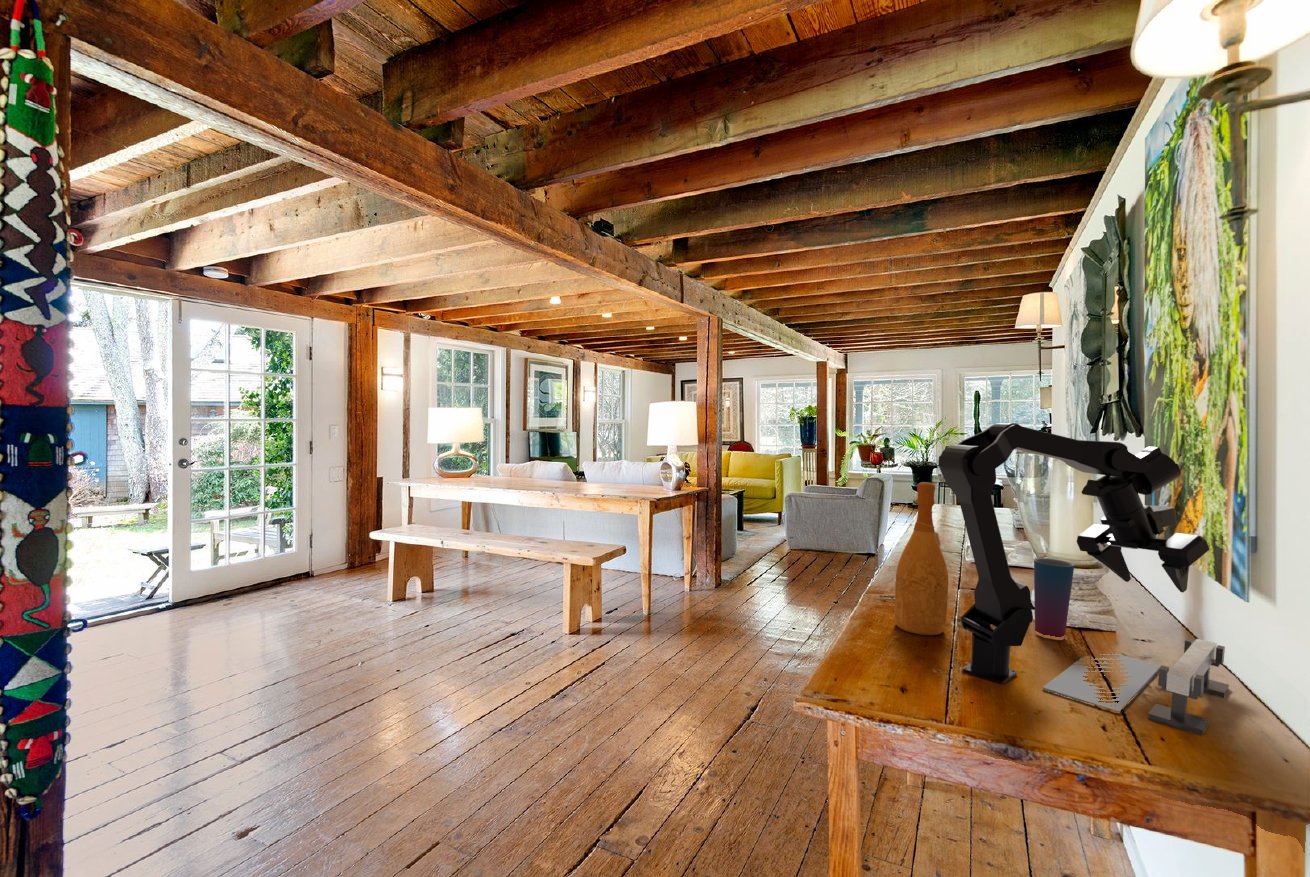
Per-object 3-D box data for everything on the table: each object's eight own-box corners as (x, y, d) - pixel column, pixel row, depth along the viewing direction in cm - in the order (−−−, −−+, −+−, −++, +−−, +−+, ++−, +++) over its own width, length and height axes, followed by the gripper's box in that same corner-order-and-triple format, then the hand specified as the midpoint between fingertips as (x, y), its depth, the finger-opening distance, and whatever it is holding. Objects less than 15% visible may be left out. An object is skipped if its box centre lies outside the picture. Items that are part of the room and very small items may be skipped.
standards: (1202, 735, 85) (1205, 684, 85) (1147, 718, 90) (1151, 669, 90) (1228, 689, 101) (1231, 645, 101) (1181, 676, 106) (1183, 635, 105)
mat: (1119, 714, 91) (1119, 711, 91) (1042, 690, 98) (1042, 687, 98) (1161, 668, 109) (1161, 665, 109) (1094, 650, 117) (1094, 648, 117)
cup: (1076, 643, 120) (1080, 567, 119) (1037, 640, 121) (1042, 564, 121) (1060, 632, 127) (1065, 559, 126) (1024, 628, 128) (1028, 557, 127)
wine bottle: (952, 639, 120) (960, 486, 119) (899, 635, 122) (906, 483, 121) (937, 623, 130) (944, 481, 129) (888, 619, 132) (895, 478, 130)
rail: (1188, 696, 87) (1190, 679, 87) (1166, 690, 89) (1167, 673, 89) (1215, 658, 102) (1216, 643, 102) (1195, 653, 104) (1196, 638, 104)
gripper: (1212, 487, 100) (1246, 571, 101) (1100, 483, 118) (1130, 554, 119) (1169, 521, 97) (1204, 607, 98) (1060, 511, 115) (1092, 584, 116)
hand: (1155, 585), depth 108 cm, fingers open, 9 cm apart
